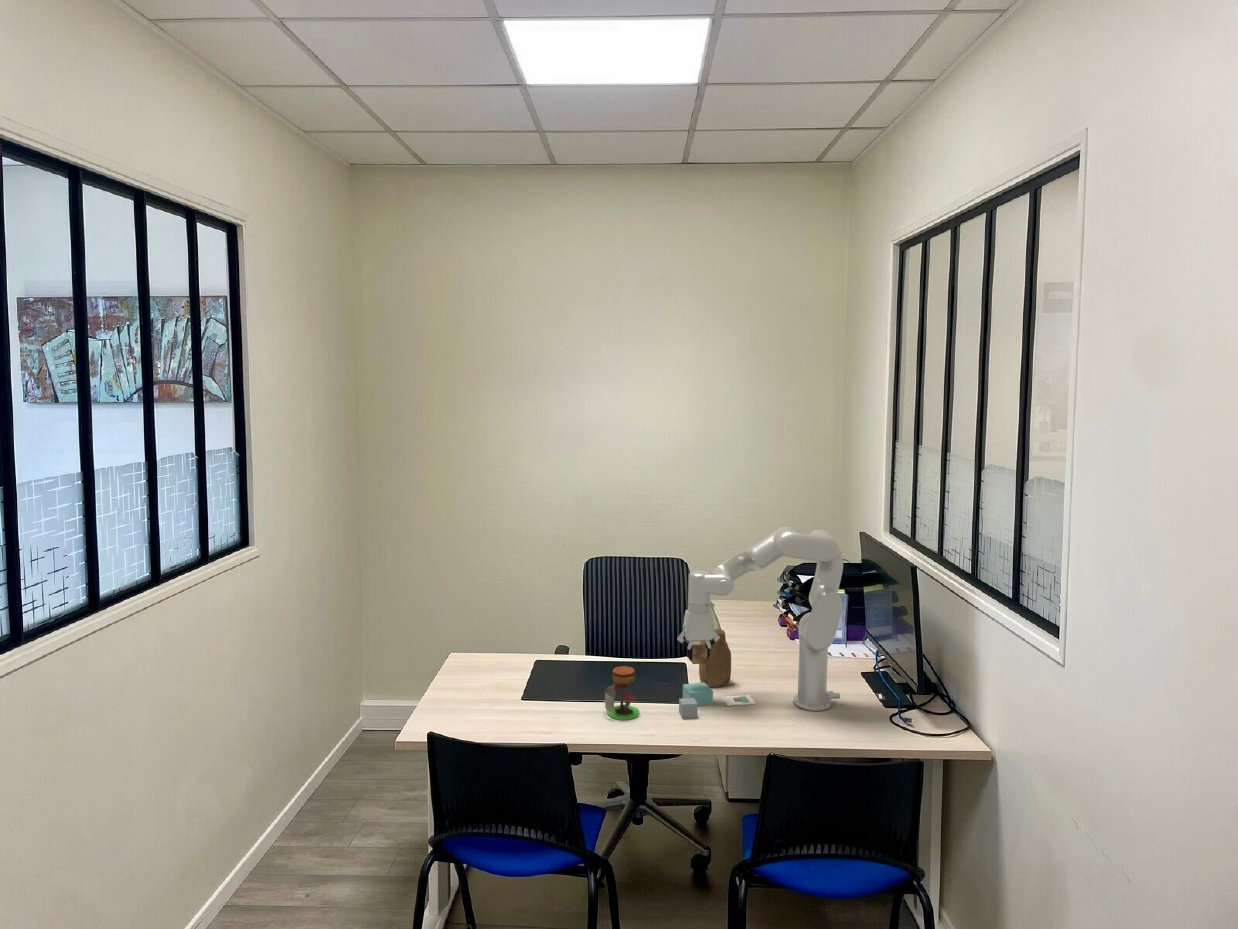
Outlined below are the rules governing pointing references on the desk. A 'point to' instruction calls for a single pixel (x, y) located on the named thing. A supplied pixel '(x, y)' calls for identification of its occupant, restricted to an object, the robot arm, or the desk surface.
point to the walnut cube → (699, 654)
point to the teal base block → (699, 693)
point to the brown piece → (717, 663)
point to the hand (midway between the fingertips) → (698, 658)
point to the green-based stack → (621, 681)
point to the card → (738, 700)
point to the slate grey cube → (688, 708)
